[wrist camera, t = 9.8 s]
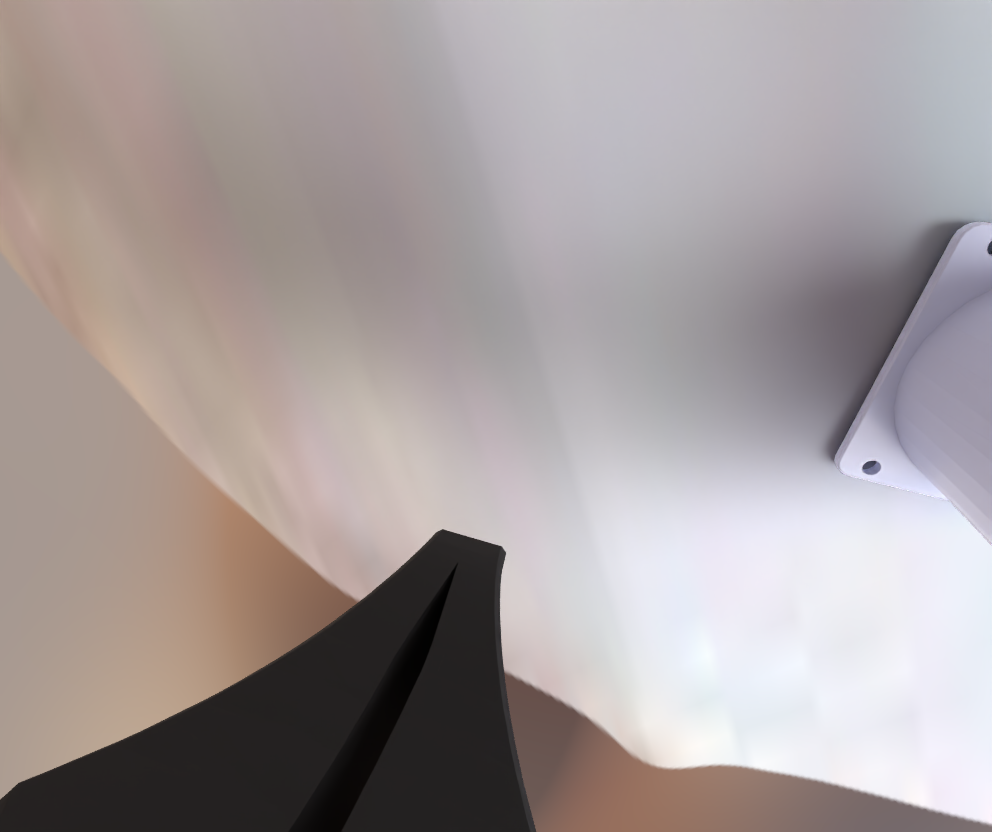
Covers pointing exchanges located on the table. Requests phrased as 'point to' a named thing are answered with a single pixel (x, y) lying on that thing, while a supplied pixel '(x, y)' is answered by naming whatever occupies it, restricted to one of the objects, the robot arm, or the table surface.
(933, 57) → the table surface
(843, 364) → the table surface
